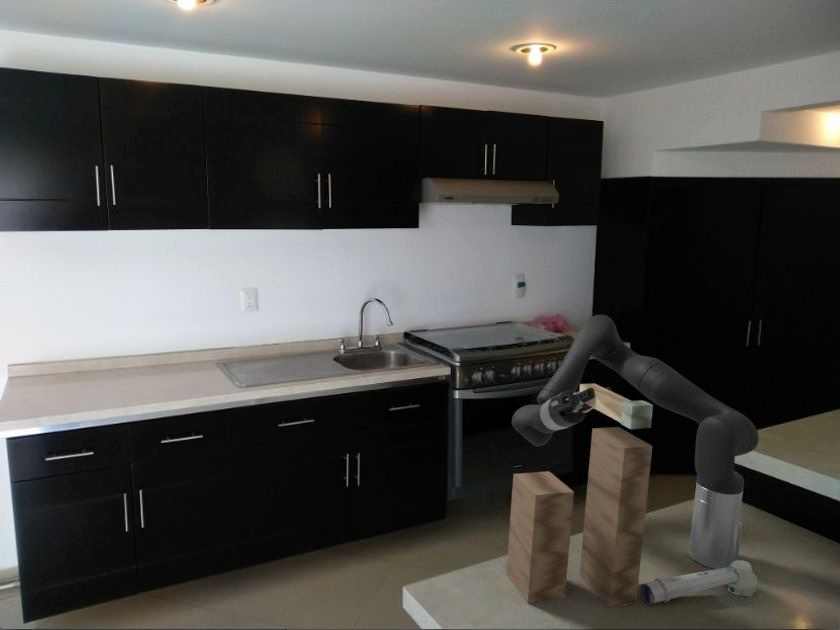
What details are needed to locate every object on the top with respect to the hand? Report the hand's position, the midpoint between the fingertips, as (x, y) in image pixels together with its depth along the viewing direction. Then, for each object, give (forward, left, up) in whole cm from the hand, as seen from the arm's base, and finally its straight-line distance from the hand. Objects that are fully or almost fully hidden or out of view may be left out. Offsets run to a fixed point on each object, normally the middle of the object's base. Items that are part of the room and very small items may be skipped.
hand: (601, 392), depth 128 cm
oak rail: (0, +4, -3) cm, 5 cm away
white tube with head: (-18, +14, -39) cm, 45 cm away
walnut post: (0, +8, -39) cm, 40 cm away
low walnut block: (+14, +4, -39) cm, 41 cm away
